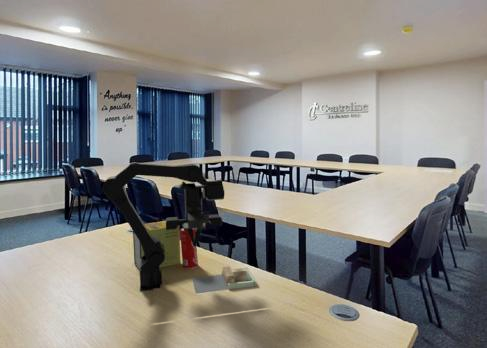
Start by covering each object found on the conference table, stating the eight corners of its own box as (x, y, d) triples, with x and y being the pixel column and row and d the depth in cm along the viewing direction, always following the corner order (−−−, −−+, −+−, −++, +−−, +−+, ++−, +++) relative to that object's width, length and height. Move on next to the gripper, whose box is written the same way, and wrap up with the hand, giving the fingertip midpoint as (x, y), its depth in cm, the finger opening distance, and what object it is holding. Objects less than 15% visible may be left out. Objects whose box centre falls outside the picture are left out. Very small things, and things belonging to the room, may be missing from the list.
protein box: (181, 263, 130) (180, 225, 129) (142, 273, 122) (140, 231, 120) (171, 255, 139) (169, 219, 137) (133, 264, 130) (131, 225, 129)
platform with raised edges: (195, 294, 105) (195, 288, 105) (192, 278, 116) (192, 273, 116) (256, 287, 110) (256, 281, 109) (247, 272, 121) (247, 267, 121)
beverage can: (195, 270, 123) (194, 231, 122) (178, 269, 125) (177, 230, 123) (200, 264, 129) (199, 226, 128) (184, 263, 131) (183, 226, 129)
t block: (227, 286, 109) (227, 276, 109) (222, 276, 117) (222, 267, 117) (249, 284, 111) (248, 273, 110) (243, 274, 119) (243, 264, 118)
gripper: (165, 207, 103) (167, 256, 104) (224, 204, 107) (225, 251, 109) (165, 201, 113) (166, 245, 115) (219, 198, 118) (219, 241, 119)
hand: (194, 246), depth 114 cm, fingers closed
